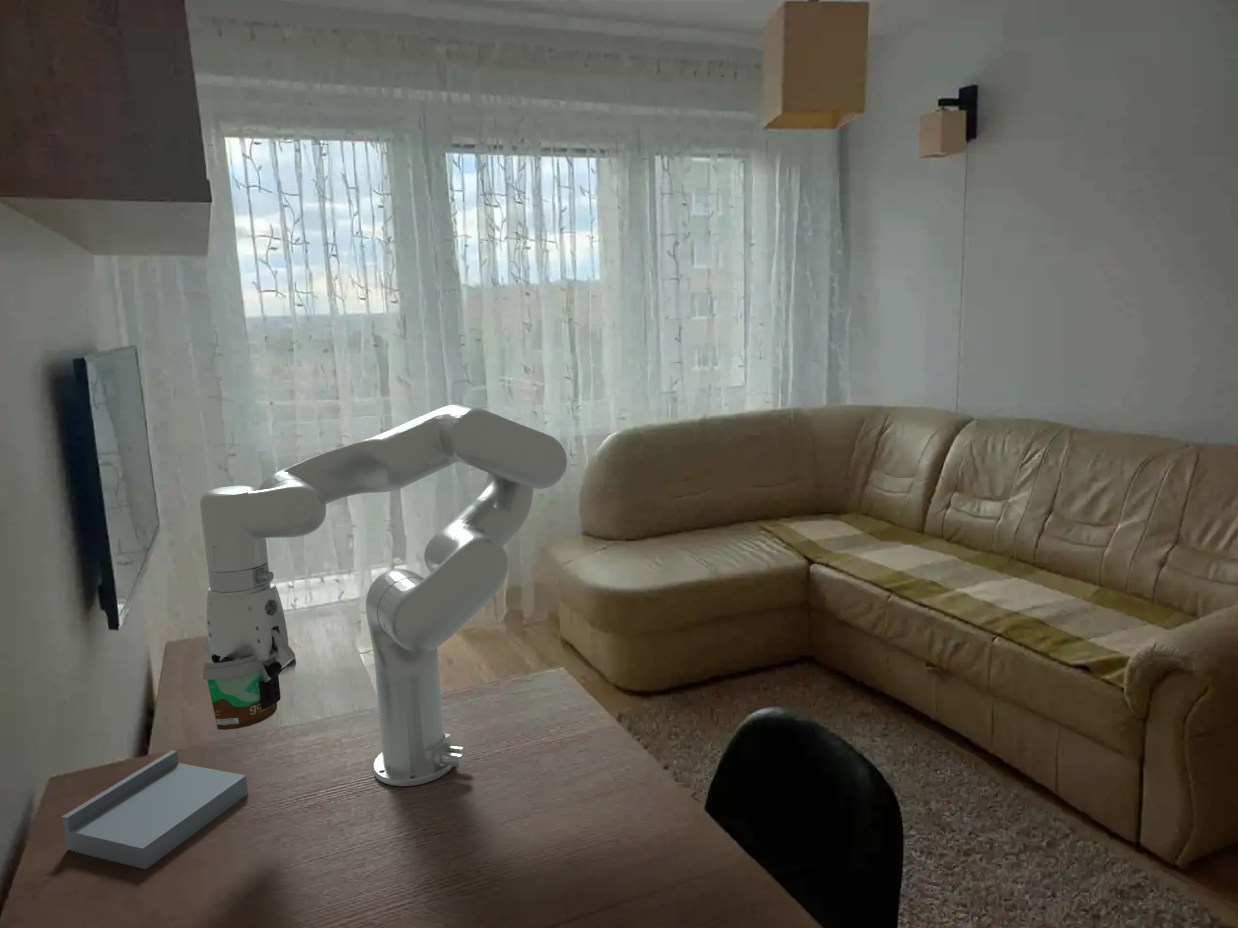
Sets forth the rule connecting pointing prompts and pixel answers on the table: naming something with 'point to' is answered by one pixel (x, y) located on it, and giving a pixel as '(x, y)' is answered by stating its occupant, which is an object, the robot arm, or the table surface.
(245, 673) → the food container
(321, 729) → the table surface
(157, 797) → the stand
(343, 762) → the table surface
